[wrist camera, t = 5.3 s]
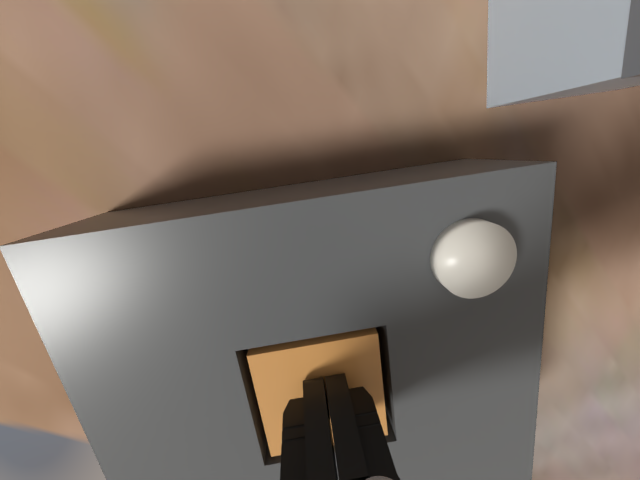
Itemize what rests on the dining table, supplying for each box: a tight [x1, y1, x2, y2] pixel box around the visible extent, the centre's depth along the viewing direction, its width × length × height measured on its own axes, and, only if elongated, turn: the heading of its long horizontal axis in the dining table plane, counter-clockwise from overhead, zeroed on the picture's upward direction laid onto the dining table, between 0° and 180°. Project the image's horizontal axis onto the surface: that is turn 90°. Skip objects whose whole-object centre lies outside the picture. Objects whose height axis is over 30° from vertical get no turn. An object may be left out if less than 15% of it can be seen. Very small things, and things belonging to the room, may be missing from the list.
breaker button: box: [247, 327, 388, 457], centre depth 13 cm, size 4×4×5 cm
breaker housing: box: [0, 159, 557, 480], centre depth 13 cm, size 16×14×6 cm
